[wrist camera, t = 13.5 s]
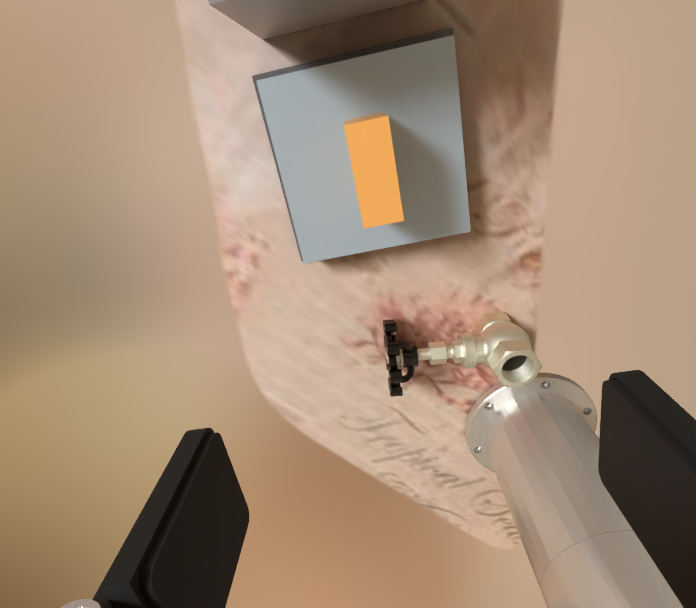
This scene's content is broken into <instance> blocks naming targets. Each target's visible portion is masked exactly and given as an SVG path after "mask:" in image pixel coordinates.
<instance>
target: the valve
mask: <svg viewBox="0 0 696 608" xmlns="http://www.w3.org/2000/svg"><path fill="white" fill-rule="evenodd" d="M383 329H384V333H385V335H384V344H385V347H386V366H387V370H388V371H389V378H388V383H389V390H390V396H391V397H393V396H402V395H403V393H402V387H401V386H400V383H405V382H407V381H409V380H410V379H411V378H412V376H413V373H414V367H418V361H420V360H429V362H430V364H431V365H437V364H446V362H447V359H453V361H454V363H460V365H461V367H462V368H463V369H465V368H475V367H476V364H477V363H485V364H486V365H487V366H488V367H489V368H491V369H492V370H493V372H494V373H495V375H496V376H497V378H498V379H499V381H500V382H501V384H502V385H503V386H504V387H519V386H525V385H529V384H530V383H531V382H532V381H533V380H534V378H535V377H536V376H537V374H538V373H539V371H540V370H541V368H542V365H541V363H540V362H539V360H538V359H537V357H536V355H535V354H534V352H533V351H532V346H531V342H530V339H529V337H528V335H527V334H526V332H525V331H524V330H523V329H522V328H520V327H519V326H517V325H515V324H513V323H512V322H511V320H510V319H509V317H508V316H507V314H506V313H505V312H497V313H486V314H483V315H482V316H481V318H480V319H479V321H478V322H477V324H476V325H475V327H474V328H473V330H472V332H473V334H474V336H473V335H472V333H459V334H458V336H457V340H452V342H451V345H445V343H444V341H440V342H429V343H428V348H422V349H417V346H416V344H415V343H412V344H411V343H409V342H406V341H395V334H393V332H397V327H396V322H395V321H394V319H392V320H383ZM398 367H401V368H407V374H406V375H405V376H402V371H401V369H398Z"/></svg>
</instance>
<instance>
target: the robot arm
mask: <svg viewBox="0 0 696 608" xmlns="http://www.w3.org/2000/svg"><path fill="white" fill-rule="evenodd" d="M596 423H597V414H596V409H595V406H594V404H593V401H592V400H591V399H590V397H589V396H588V394H587V393H586V392H585V391H584V390H583V389H582V388H581V387H580V386H579V385H578V384H577V383H575V382H574V381H572V380H570V379H568V378H566V377H563V376H560V375H556V374H550V373H538V374H537V376H536V377H535V378H534V380H533V381H532V382H531V383H530V384H529V385H525V386H519V387H504V386H503V385H502V384H501V382H500V383H498V384H496V385H495V386H493V387H492V388H490V389H489V390H487V391H486V392H485V393H484V394H483V395H482V396H481V397H480V398H479V399H478V400H477V401H476V403H475V404H474V406H473V407H472V408H471V411H470V413H469V415H468V417H467V421H466V426H465V436H466V439H467V443H468V446H469V449H470V451H471V453H472V455H473V456H474V457H475V459H476V460H477V461H478V462H479V463H480V464H481V465H482V466H484V467H485V468H487V469H489V470H491V471H492V472H495V473H496V476H497V478H498V481H499V483H500V486H501V489H502V491H503V494H504V496H505V499H506V502H507V504H508V507H509V509H510V512H511V515H512V517H513V520H514V522H515V525H516V528H517V530H518V533H519V535H520V538H521V541H522V543H523V546H524V548H525V551H526V554H527V556H528V559H529V561H530V564H531V567H532V569H533V572H534V574H535V577H536V579H537V582H538V584H539V587H540V589H541V591H542V595H543V597H544V600H545V602H546V605H547V607H548V608H696V420H695V419H694V418H693V417H692V416H691V415H690V414H689V413H687V412H686V411H685V410H684V409H683V408H682V407H680V405H679V404H677V402H675V401H674V400H673V399H672V398H671V397H670V396H669V395H668V394H667V393H666V392H664V391H663V390H662V389H661V388H660V387H659V386H658V385H657V384H656V383H655V382H654V381H652V380H651V379H650V378H649V377H648V376H647V375H646V374H645V373H644V372H642V371H640V370H633V371H626V372H618V373H613V374H611V375H610V377H609V380H607V381H604V382H603V386H602V401H601V422H600V440H599V438H598V437H597V436H596V434H595V433H594V432H595V429H596ZM248 523H249V510H248V506H247V504H246V501H245V498H244V496H243V493H242V490H241V488H240V485H239V483H238V480H237V477H236V474H235V472H234V469H233V466H232V464H231V461H230V458H229V456H228V453H227V450H226V448H225V445H224V442H223V440H222V437H221V435H220V434H219V433H214V431H213V430H212V429H211V428H204V429H196V430H189V431H187V432H186V433H185V434H184V436H183V438H182V440H181V441H180V443H179V445H178V447H177V449H176V450H175V452H174V454H173V456H172V458H171V459H170V461H169V463H168V465H167V467H166V468H165V470H164V472H163V474H162V476H161V477H160V479H159V481H158V483H157V485H156V486H155V488H154V490H153V492H152V494H151V495H150V497H149V499H148V501H147V502H146V504H145V506H144V508H143V510H142V511H141V513H140V515H139V517H138V519H137V521H136V522H135V524H134V526H133V528H132V529H131V531H130V533H129V535H128V537H127V538H126V540H125V542H124V544H123V546H122V548H121V549H120V551H119V553H118V555H117V556H116V558H115V560H114V562H113V564H112V565H111V567H110V569H109V571H108V573H107V575H106V576H105V578H104V580H103V582H102V583H101V585H100V587H99V589H98V591H97V593H96V594H95V596H94V598H93V600H92V599H79V600H76V601H73V602H70V603H68V604H66V605H64V606H62V607H60V608H225V606H226V603H227V599H228V595H229V592H230V588H231V585H232V581H233V578H234V574H235V570H236V567H237V563H238V560H239V556H240V552H241V549H242V545H243V542H244V538H245V534H246V531H247V527H248Z"/></svg>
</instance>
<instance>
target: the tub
mask: <svg viewBox="0 0 696 608" xmlns="http://www.w3.org/2000/svg"><path fill="white" fill-rule="evenodd" d="M417 1H421V0H209V4H210V5H211V6H213V7H214V8H216V9H217V10H219V11H220V12H222V13H223V14H225V15H226V16H228V17H229V18H231V19H232V20H234V21H235V22H237V23H238V24H240V25H241V26H243V27H244V28H246V29H247V30H249V31H250V32H252V33H254V34H255V35H257V36H258V37H260V38H261V39H267V38H271V37H275V36H279V35H284V34H288V33H292V32H296V31H300V30H304V29H308V28H312V27H316V26H320V25H324V24H328V23H332V22H336V21H340V20H344V19H348V18H352V17H356V16H360V15H364V14H368V13H372V12H377V11H381V10H385V9H389V8H393V7H397V6H401V5H405V4H409V3H413V2H417Z"/></svg>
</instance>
